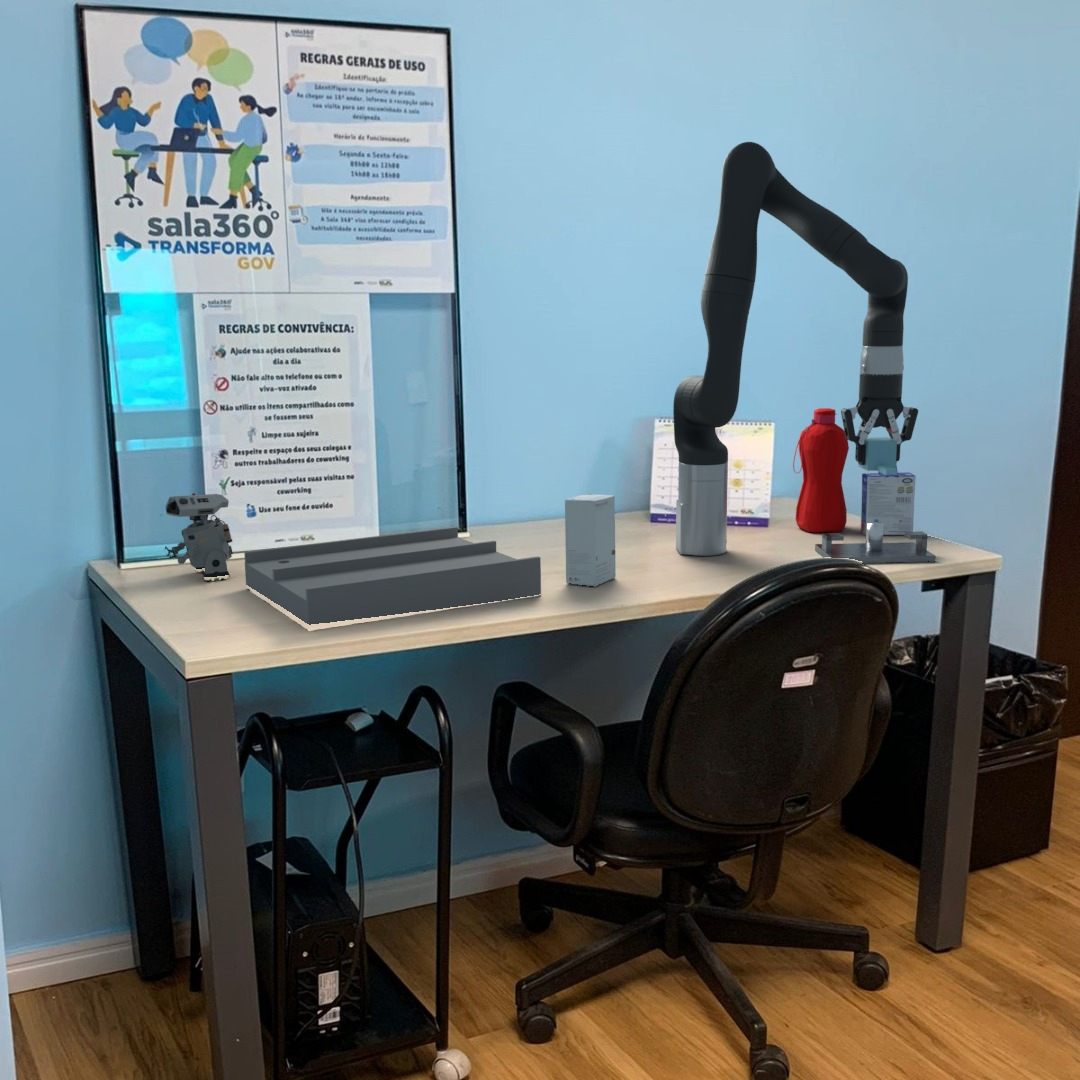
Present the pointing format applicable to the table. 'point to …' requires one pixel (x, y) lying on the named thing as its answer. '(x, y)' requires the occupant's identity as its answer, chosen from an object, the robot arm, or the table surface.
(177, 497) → the figurine
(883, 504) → the ink cartridge box
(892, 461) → the light blue skewered cube
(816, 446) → the water bottle
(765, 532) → the table surface
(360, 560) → the desk organizer
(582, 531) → the skincare box
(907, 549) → the mount
